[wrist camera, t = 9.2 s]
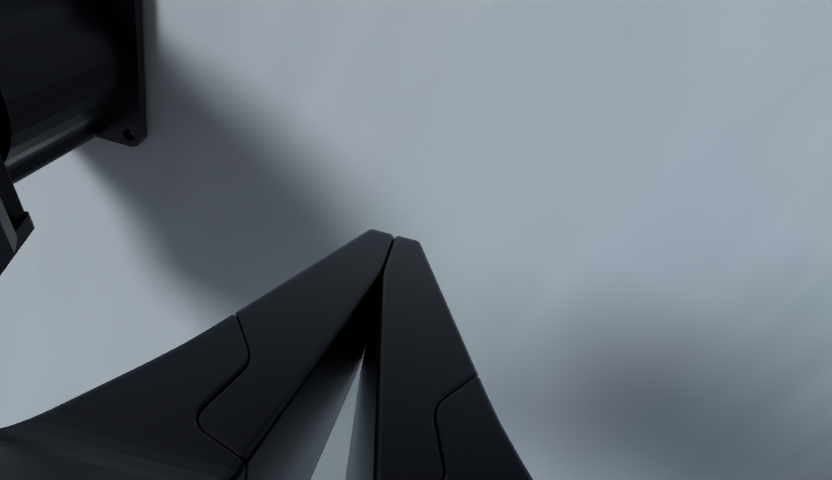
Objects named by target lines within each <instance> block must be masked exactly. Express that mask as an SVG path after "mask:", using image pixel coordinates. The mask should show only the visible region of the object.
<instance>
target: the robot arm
mask: <svg viewBox="0 0 832 480" xmlns="http://www.w3.org/2000/svg"><path fill="white" fill-rule="evenodd" d="M129 129H130V130H132V131H133V133H134V134H135V137H134V136H132V135H131V134H130V133H129ZM146 136H147V129H146V103H145V77H144V50H143V24H142V0H0V275H1V274H2V272H3V271H4V270H5V268H6V267H7V265H8V264H9V263H10V261H11V260H12V258H13V257H14V256H15V254H16V253H17V252H18V250H19V249H20V247H21V246H22V245H23V243H24V242H25V241H26V239H27V238H28V236H29V235H30V234H31V232H32V231H33V230H34V225H33V222H32V220H31V217H30V215H29V213H28V212H25V211H24V210H23V207H22V205H21V202H20V200H19V197H18V195H17V193H16V190H15V188H14V185H13V184H14V183H16V182H18V181H20V180H21V179H23V178H25V177H27V176H28V175H30V174H32V173H34V172H35V171H37V170H39V169H40V168H42V167H44V166H46V165H47V164H49V163H51V162H53V161H54V160H56V159H58V158H60V157H61V156H63V155H65V154H67V153H68V152H70V151H72V150H73V149H75V148H77V147H79V146H80V145H82V144H84V143H86V142H87V141H89V140H91V139H93V138H94V137H99V138H103V139H106V140H110V141H113V142H117V143H120V144H124V145H127V146H132V147H135V146H138V145H139V144H141V143H142V142H144V140H145V139H146ZM364 351H365V352H364ZM363 354H364V357H363ZM362 357H363V361H362V366H361V372H360V379H359V386H358V393H357V400H356V407H355V415H354V422H353V429H352V436H351V443H350V451H349V458H348V465H347V472H346V480H533V479H532V477H531V476H530V474H529V472H528V471H527V469H526V467H525V466H524V464H523V462H522V461H521V459H520V457H519V455H518V454H517V452H516V450H515V448H514V447H513V445H512V443H511V441H510V439H509V438H508V436H507V434H506V432H505V431H504V429H503V427H502V425H501V423H500V421H499V419H498V417H497V415H496V413H495V411H494V409H493V407H492V405H491V402H490V400H489V398H488V396H487V394H486V392H485V389H484V387H483V385H482V382H481V380H480V378H478V374H477V371H476V369H475V367H474V365H473V362H472V360H471V358H470V356H469V353H468V351H467V349H466V347H465V344H464V342H463V340H462V337H461V335H460V333H459V331H458V328H457V326H456V324H455V322H454V319H453V317H452V315H451V313H450V310H449V308H448V306H447V303H446V301H445V299H444V297H443V294H442V292H441V290H440V288H439V285H438V283H437V281H436V279H435V276H434V274H433V272H432V269H431V267H430V265H429V263H428V260H427V258H426V256H425V254H424V251H423V249H422V247H421V245H420V243H419V242H418V241H416V240H412V239H408V238H404V237H400V236H397V237H395V238H393V236H392V235H391V234H388V233H385V232H381V231H377V230H373V229H371V230H368V231H366V232H365V233H363V234H362V235H360V236H358V237H357V238H355V239H354V240H352V241H350V242H349V243H347V244H346V245H344V246H342V247H341V248H339V249H337V250H336V251H334V252H333V253H331V254H329V255H328V256H326V257H325V258H323V259H321V260H320V261H318V262H317V263H315V264H313V265H312V266H310V267H309V268H307V269H305V270H304V271H302V272H301V273H299V274H297V275H296V276H294V277H293V278H291V279H289V280H288V281H286V282H285V283H283V284H281V285H280V286H278V287H276V288H275V289H273V290H272V291H270V292H268V293H267V294H265V295H264V296H262V297H260V298H259V299H257V300H256V301H254V302H252V303H251V304H249V305H248V306H246V307H244V308H243V309H241V310H240V311H238V312H237V313H236V314H235V315H231V316H230V317H228V318H226V319H225V320H223V321H221V322H220V323H218V324H217V325H215V326H213V327H212V328H210V329H208V330H207V331H205V332H203V333H201V334H200V335H198V336H196V337H195V338H193V339H191V340H189V341H188V342H186V343H184V344H182V345H181V346H179V347H177V348H175V349H173V350H171V351H169V352H167V353H165V354H163V355H161V356H159V357H157V358H155V359H153V360H151V361H149V362H147V363H146V364H143V365H141V366H139V367H137V368H135V369H133V370H131V371H129V372H127V373H125V374H123V375H121V376H119V377H117V378H115V379H113V380H110V381H108V382H106V383H104V384H102V385H100V386H98V387H96V388H94V389H92V390H90V391H88V392H86V393H84V394H82V395H80V396H78V397H75V398H73V399H71V400H69V401H67V402H65V403H63V404H61V405H59V406H57V407H55V408H53V409H51V410H49V411H46V412H44V413H42V414H40V415H37V416H35V417H33V418H31V419H28V420H25V421H22V422H20V423H17V424H14V425H11V426H8V427H4V428H1V429H0V480H310V479H311V477H312V475H313V472H314V470H315V468H316V466H317V463H318V461H319V459H320V456H321V454H322V452H323V449H324V447H325V445H326V442H327V440H328V438H329V436H330V433H331V431H332V429H333V426H334V424H335V422H336V419H337V417H338V415H339V412H340V410H341V408H342V406H343V403H344V401H345V399H346V396H347V394H348V392H349V389H350V387H351V385H352V383H353V380H354V378H355V376H356V373H357V371H358V368H359V366H360V363H361V360H362Z"/></svg>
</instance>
